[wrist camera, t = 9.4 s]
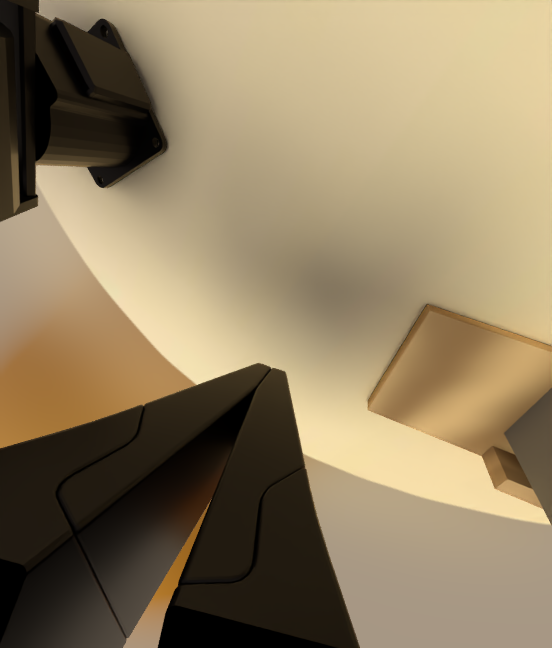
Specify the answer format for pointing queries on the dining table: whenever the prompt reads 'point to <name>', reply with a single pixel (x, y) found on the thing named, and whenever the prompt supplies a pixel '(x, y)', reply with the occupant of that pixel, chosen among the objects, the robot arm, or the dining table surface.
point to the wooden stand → (467, 389)
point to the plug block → (535, 448)
